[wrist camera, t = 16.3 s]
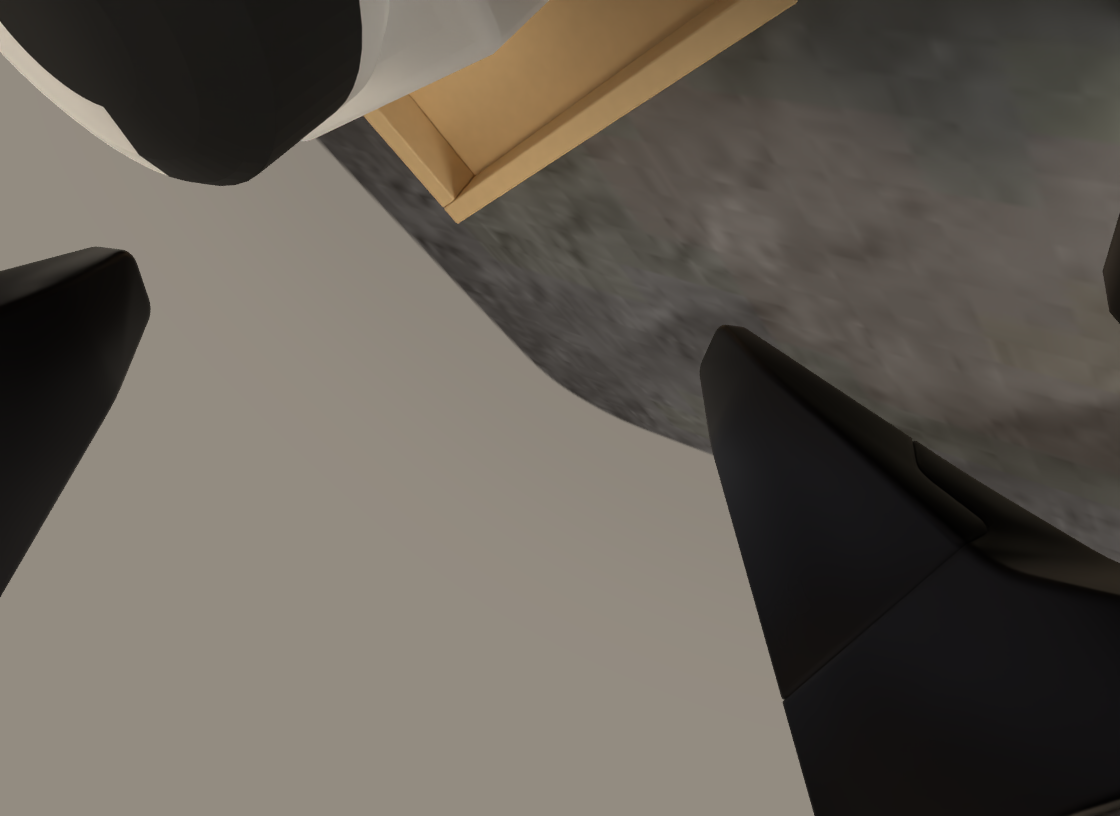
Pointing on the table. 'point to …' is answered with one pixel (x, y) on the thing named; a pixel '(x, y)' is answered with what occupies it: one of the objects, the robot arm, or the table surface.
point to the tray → (554, 89)
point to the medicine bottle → (240, 69)
